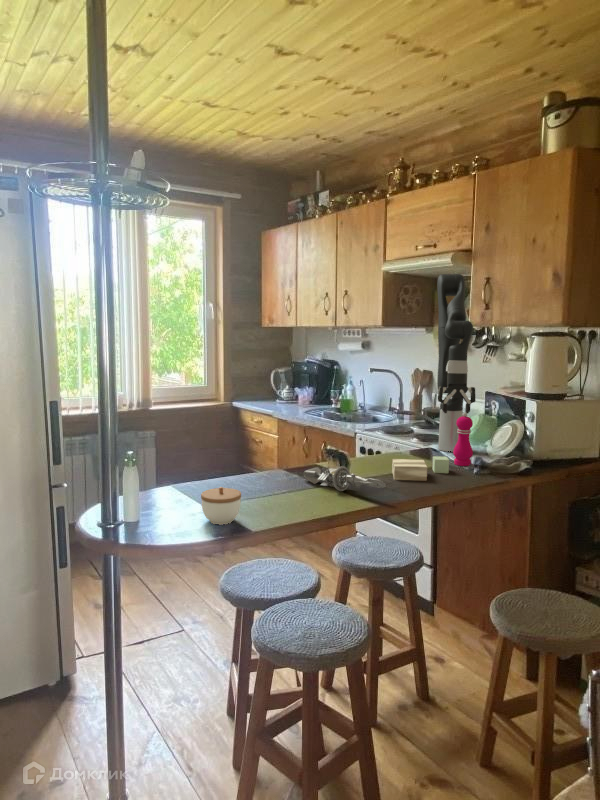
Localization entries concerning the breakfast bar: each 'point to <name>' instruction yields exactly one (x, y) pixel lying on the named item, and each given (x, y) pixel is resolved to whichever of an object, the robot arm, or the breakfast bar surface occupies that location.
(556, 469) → the breakfast bar surface
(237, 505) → the lidded jar
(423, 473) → the birch block
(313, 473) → the spaceship
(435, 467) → the green cube
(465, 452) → the pepper mill
